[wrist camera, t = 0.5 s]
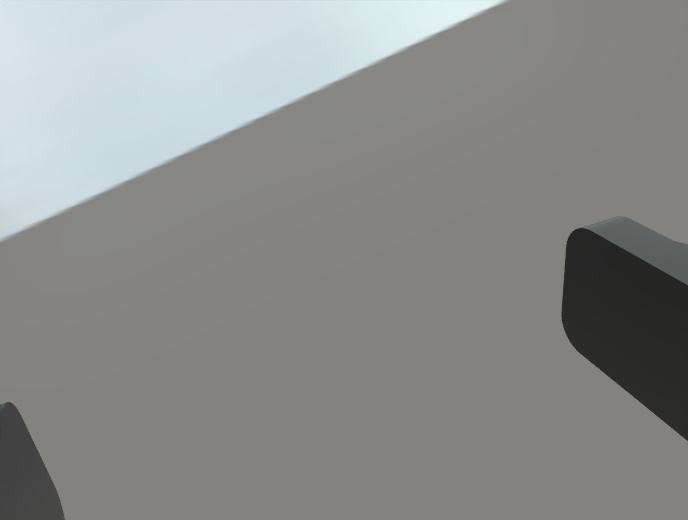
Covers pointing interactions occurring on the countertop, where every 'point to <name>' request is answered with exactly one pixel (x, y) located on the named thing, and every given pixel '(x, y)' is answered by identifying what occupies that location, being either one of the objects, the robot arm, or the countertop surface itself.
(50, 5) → the countertop surface
